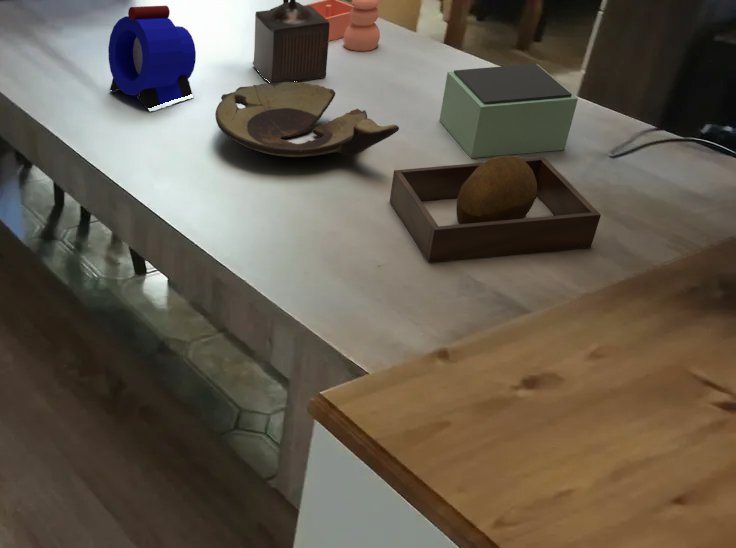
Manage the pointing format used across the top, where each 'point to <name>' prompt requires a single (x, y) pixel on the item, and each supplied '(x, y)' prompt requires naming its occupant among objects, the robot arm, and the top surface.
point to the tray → (496, 237)
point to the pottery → (351, 22)
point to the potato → (497, 191)
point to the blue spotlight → (151, 56)
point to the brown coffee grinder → (291, 43)
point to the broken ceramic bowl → (294, 121)
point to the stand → (507, 110)
